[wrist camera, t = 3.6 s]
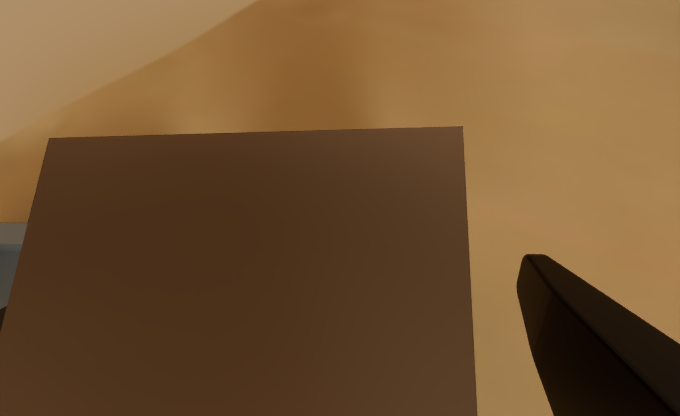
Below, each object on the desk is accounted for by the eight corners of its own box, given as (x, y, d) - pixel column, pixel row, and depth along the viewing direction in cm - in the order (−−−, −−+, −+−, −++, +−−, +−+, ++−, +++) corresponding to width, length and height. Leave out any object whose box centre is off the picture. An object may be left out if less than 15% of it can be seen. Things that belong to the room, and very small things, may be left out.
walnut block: (409, 380, 14) (494, 757, 2) (294, 372, 15) (-78, 640, 3) (407, 261, 15) (463, 126, 3) (301, 259, 16) (48, 138, 4)
